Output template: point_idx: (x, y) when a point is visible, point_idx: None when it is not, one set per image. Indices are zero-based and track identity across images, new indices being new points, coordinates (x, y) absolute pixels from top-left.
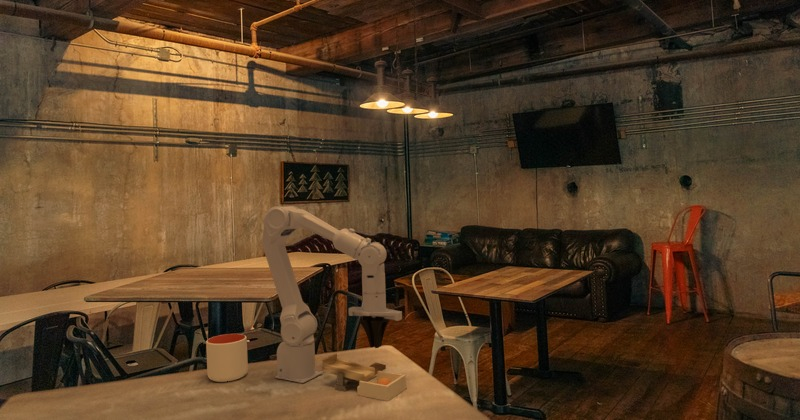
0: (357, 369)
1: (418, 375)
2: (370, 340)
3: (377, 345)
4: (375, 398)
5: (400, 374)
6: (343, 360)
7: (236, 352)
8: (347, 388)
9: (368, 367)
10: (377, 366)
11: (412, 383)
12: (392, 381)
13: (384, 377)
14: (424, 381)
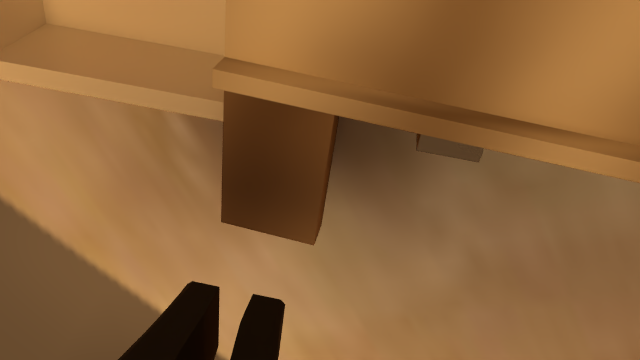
0: (389, 52)
1: (108, 242)
2: (239, 355)
3: (173, 305)
4: None
5: (12, 75)
6: (598, 164)
7: None
8: None
9: (275, 82)
10: (258, 175)
11: (60, 127)
12: (109, 50)
13: (171, 71)
14: (21, 168)
